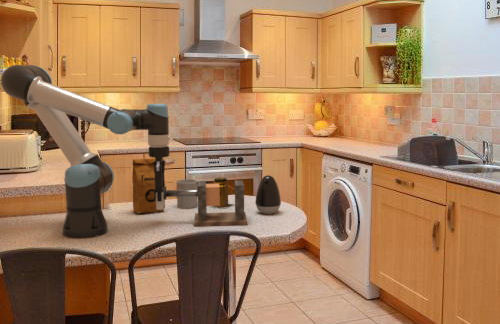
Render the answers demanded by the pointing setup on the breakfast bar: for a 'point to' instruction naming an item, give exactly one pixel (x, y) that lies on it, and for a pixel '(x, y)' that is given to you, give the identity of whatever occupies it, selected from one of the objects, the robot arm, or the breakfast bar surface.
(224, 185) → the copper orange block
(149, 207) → the coffee package
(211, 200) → the block
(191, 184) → the mug
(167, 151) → the robot arm
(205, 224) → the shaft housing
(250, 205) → the breakfast bar surface
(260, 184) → the black egg shaped speaker
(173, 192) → the shaft
